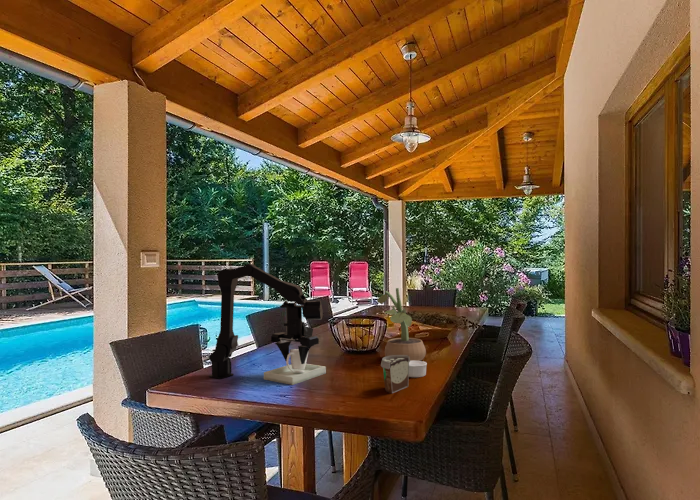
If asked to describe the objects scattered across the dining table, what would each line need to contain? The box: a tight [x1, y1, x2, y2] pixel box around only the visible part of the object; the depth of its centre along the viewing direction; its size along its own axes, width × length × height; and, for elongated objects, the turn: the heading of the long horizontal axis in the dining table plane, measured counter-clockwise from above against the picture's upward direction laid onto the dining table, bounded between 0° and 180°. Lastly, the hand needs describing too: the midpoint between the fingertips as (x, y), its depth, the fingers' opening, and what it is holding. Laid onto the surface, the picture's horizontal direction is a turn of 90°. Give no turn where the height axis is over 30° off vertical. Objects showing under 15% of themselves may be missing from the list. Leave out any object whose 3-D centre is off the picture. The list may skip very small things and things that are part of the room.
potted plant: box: [376, 287, 427, 361], centre depth 194 cm, size 22×18×30 cm
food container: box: [380, 355, 410, 394], centre depth 155 cm, size 12×6×10 cm, turn 141°
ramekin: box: [409, 360, 428, 378], centre depth 171 cm, size 9×9×4 cm
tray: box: [263, 363, 327, 386], centre depth 173 cm, size 18×14×2 cm
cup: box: [285, 348, 309, 373], centre depth 174 cm, size 7×10×8 cm
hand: (294, 362), depth 173 cm, fingers open, 7 cm apart
